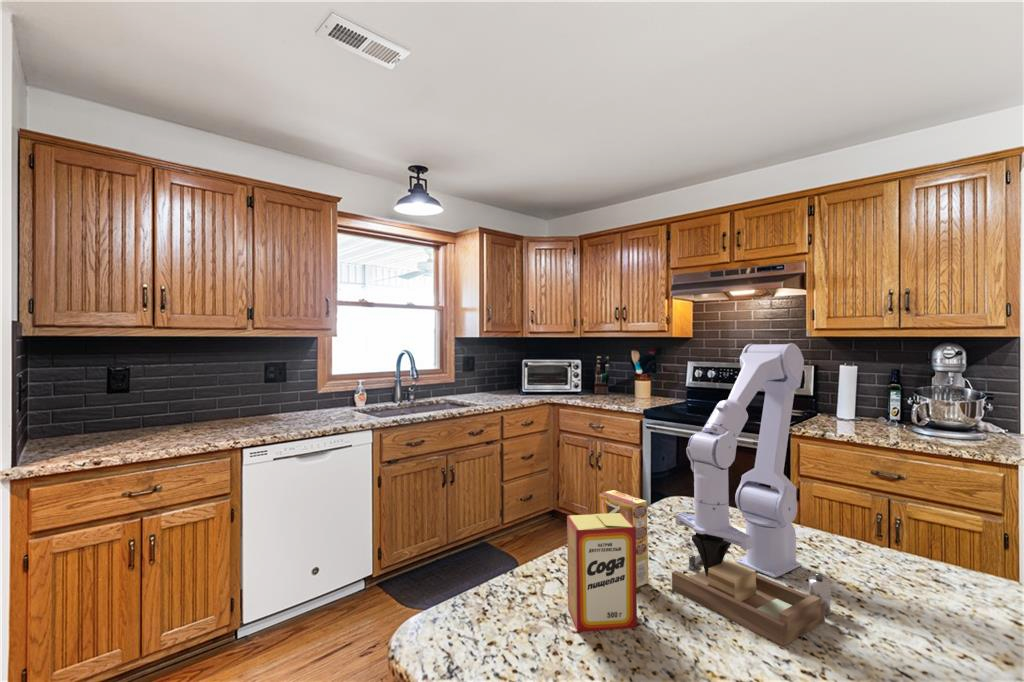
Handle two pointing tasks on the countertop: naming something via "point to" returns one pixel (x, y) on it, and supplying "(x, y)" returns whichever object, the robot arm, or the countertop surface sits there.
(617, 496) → the candy box
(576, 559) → the baking soda box
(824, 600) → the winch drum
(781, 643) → the bay
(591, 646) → the countertop surface
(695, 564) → the crank handle
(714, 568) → the tan wooden block
